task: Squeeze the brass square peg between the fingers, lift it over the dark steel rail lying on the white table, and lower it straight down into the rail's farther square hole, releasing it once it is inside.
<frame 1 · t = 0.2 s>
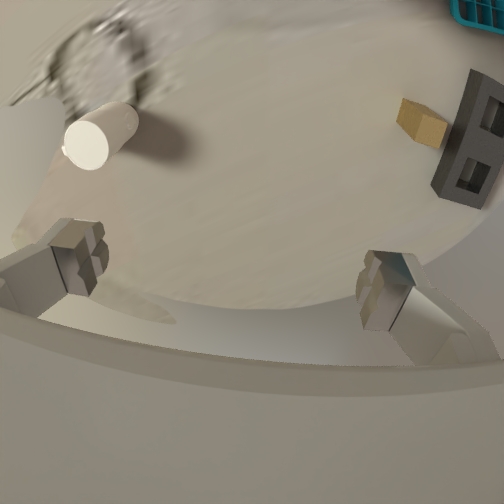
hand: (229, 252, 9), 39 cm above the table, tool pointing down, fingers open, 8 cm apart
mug: (108, 124, 46), on the table
peg: (410, 113, 40), on the table
rail: (474, 137, 40), on the table
ice cube tray: (493, 0, 24), on the table
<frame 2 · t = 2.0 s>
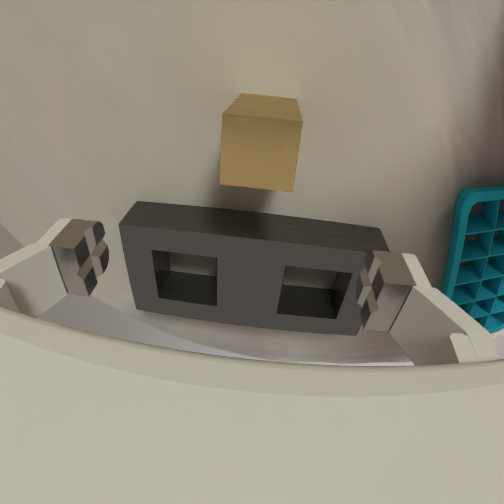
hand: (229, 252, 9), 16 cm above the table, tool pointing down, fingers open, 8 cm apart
peg: (266, 120, 22), on the table
rail: (252, 258, 30), on the table
ice cube tray: (481, 258, 28), on the table
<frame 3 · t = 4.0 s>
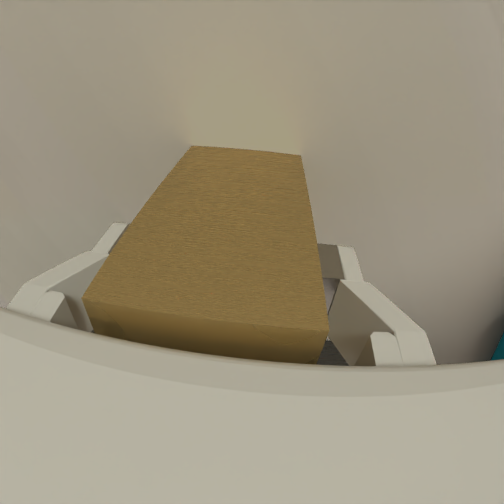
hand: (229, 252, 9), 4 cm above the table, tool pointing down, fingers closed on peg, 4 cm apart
peg: (242, 198, 12), on the table, touching gripper
rail: (231, 379, 20), on the table
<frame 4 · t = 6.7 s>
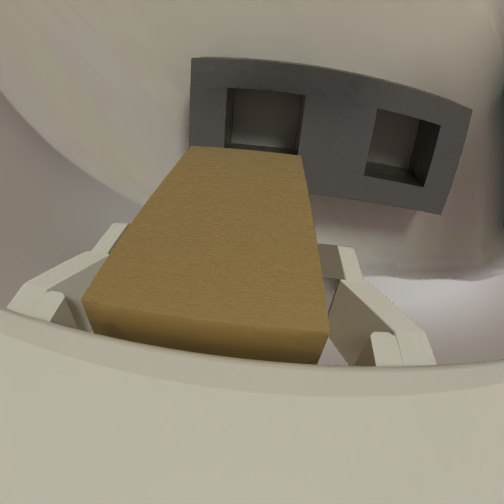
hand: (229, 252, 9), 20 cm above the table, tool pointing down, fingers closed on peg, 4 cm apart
peg: (242, 198, 12), point 16 cm above the table, touching gripper
rail: (329, 124, 25), on the table
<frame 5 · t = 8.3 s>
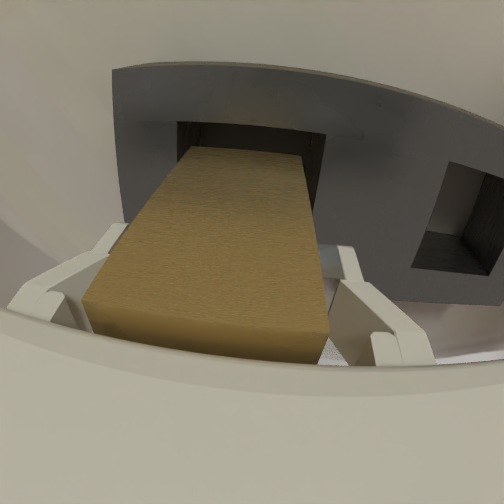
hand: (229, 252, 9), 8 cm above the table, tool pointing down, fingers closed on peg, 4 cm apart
peg: (242, 198, 12), point 4 cm above the table, touching gripper
rail: (357, 173, 16), on the table
when the fingers open (6 cm above the table, at t = 9.5 s): peg drops 2 cm, resting in rail.
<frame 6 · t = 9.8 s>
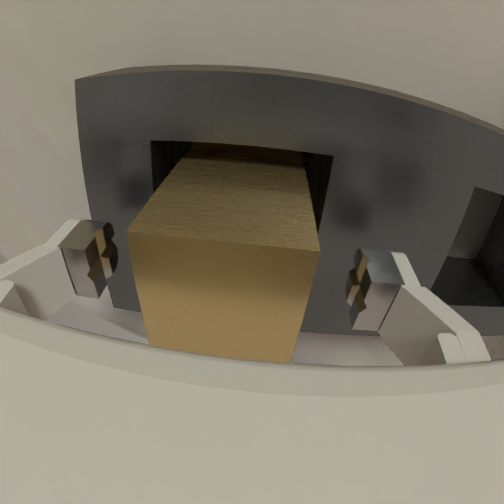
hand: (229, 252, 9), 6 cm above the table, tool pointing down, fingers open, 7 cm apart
peg: (247, 178, 14), resting in rail
rail: (365, 194, 14), on the table
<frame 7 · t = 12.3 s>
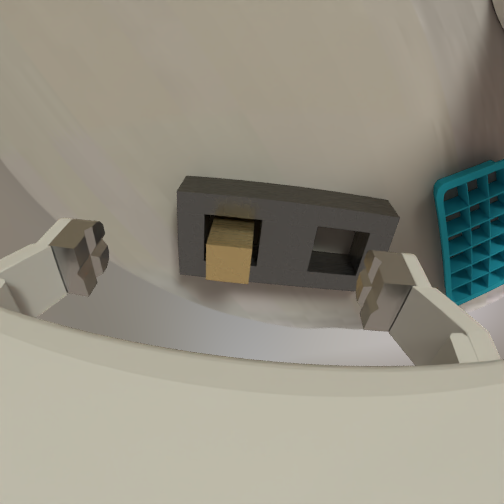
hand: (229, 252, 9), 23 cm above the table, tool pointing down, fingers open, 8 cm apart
peg: (235, 221, 35), resting in rail
rail: (284, 227, 35), on the table
ice cube tray: (469, 229, 35), on the table
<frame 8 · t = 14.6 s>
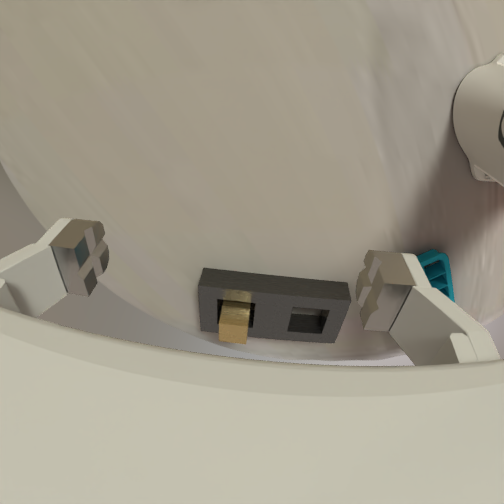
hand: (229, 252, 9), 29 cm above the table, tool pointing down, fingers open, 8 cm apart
peg: (238, 295, 51), resting in rail
rail: (272, 299, 50), on the table
ice cube tray: (418, 295, 49), on the table
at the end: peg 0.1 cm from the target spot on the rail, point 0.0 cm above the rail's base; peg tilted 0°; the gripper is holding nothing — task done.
